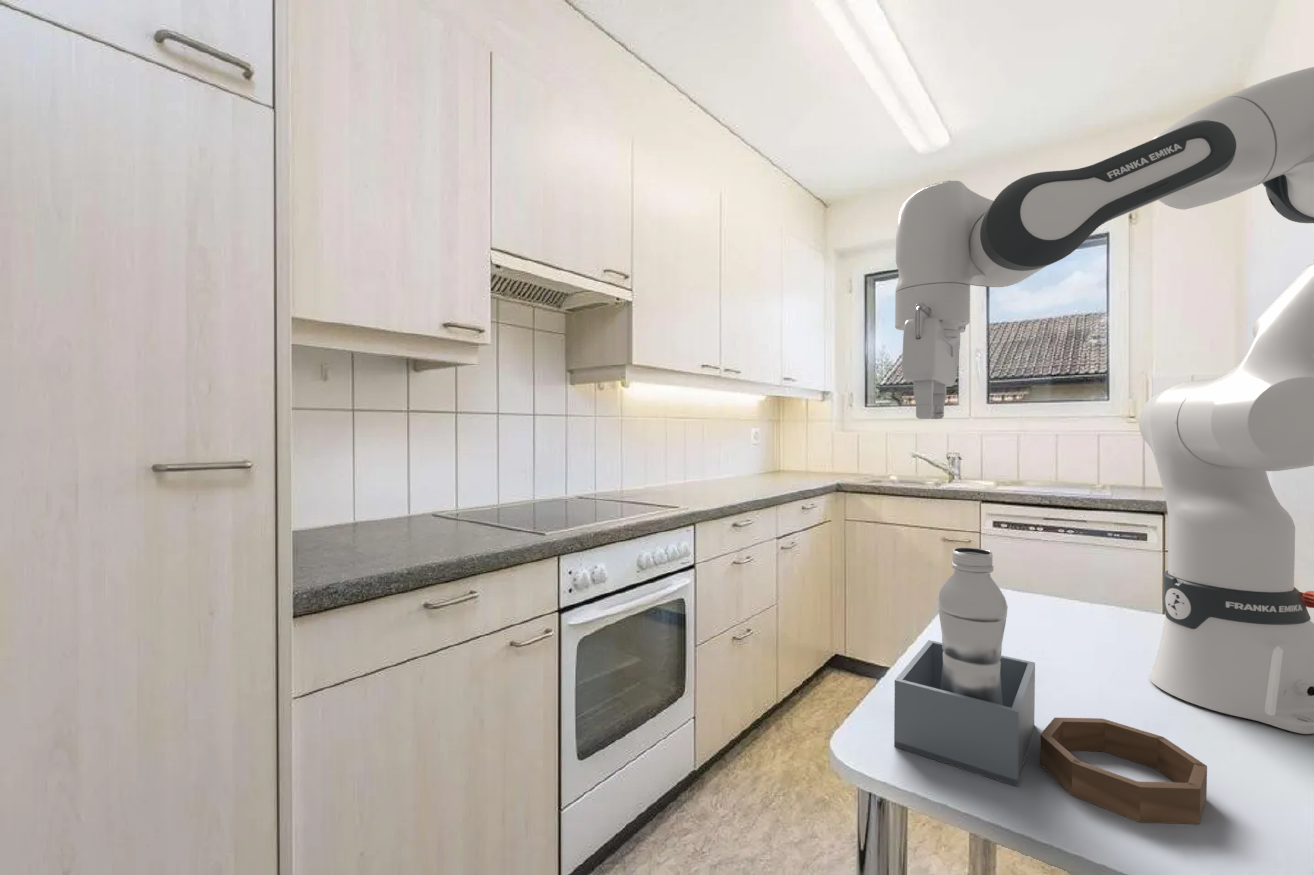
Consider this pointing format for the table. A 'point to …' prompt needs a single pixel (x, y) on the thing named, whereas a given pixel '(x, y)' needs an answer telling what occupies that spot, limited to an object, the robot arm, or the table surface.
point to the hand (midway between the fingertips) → (930, 419)
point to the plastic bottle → (972, 627)
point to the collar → (1114, 790)
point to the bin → (965, 717)
